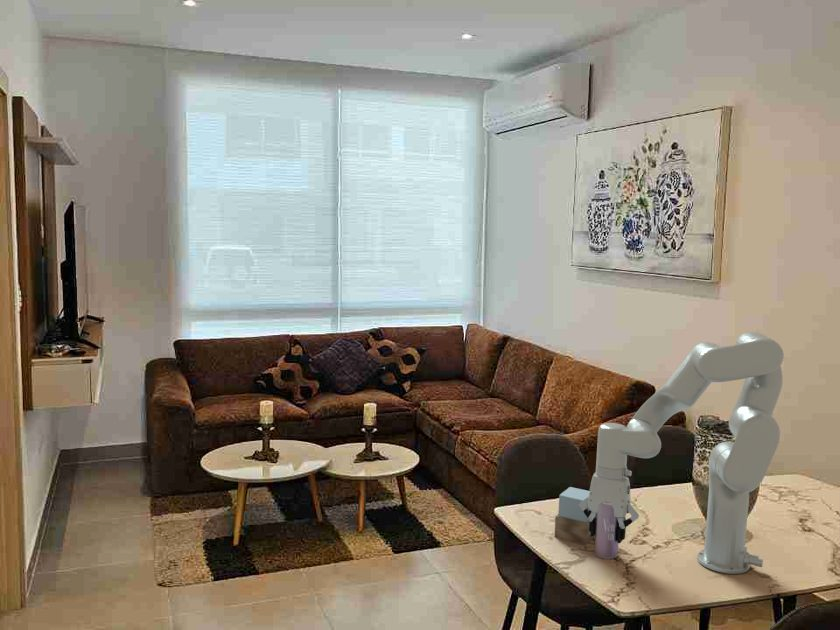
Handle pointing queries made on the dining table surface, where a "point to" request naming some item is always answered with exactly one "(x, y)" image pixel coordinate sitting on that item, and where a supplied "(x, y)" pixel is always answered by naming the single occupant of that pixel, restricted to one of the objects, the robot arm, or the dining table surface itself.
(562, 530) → the base block
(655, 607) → the dining table surface
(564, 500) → the top block
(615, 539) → the beverage can
